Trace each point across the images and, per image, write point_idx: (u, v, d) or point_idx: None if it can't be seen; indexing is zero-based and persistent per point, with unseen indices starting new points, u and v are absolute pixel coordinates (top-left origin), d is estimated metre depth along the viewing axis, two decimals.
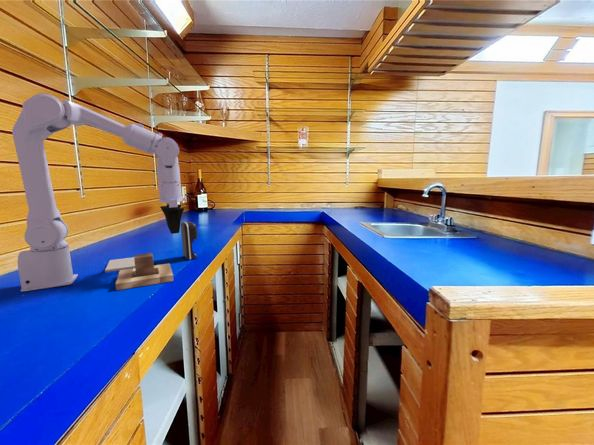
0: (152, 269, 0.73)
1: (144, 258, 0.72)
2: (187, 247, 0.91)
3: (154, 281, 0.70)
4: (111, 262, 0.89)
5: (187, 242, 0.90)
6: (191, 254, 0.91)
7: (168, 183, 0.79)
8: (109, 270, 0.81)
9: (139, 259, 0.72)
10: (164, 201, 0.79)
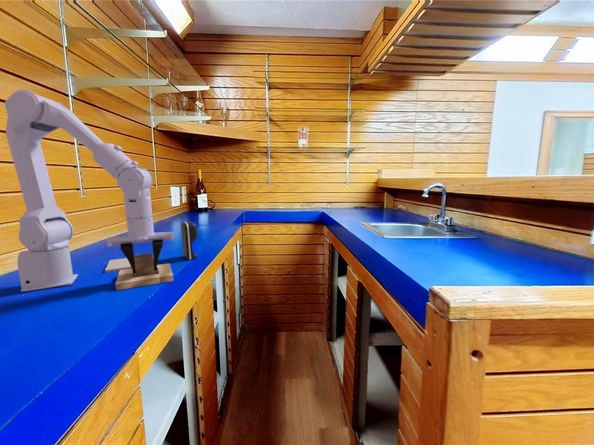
0: (152, 269, 0.73)
1: (144, 258, 0.72)
2: (187, 247, 0.91)
3: (154, 281, 0.70)
4: (111, 262, 0.89)
5: (187, 242, 0.90)
6: (191, 254, 0.91)
7: None
8: (109, 270, 0.81)
9: (139, 259, 0.72)
10: None
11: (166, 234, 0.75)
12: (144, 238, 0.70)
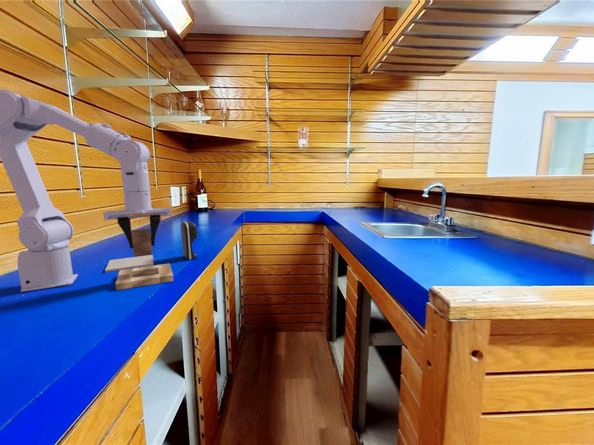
0: (149, 244, 0.72)
1: (141, 232, 0.71)
2: (187, 247, 0.91)
3: (154, 281, 0.70)
4: (111, 262, 0.89)
5: (187, 242, 0.90)
6: (191, 254, 0.91)
7: None
8: (109, 270, 0.81)
9: (136, 233, 0.71)
10: None
11: (164, 209, 0.74)
12: (141, 212, 0.69)
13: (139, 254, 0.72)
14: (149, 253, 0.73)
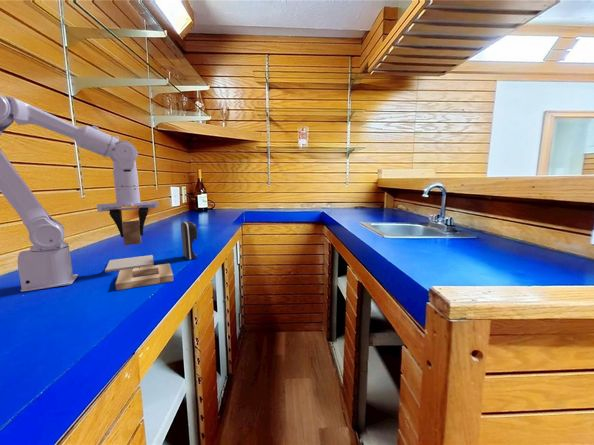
0: (138, 234, 0.81)
1: (131, 223, 0.80)
2: (187, 247, 0.91)
3: (154, 281, 0.70)
4: (111, 262, 0.89)
5: (187, 242, 0.90)
6: (191, 254, 0.91)
7: None
8: (109, 270, 0.81)
9: (126, 224, 0.80)
10: None
11: (151, 202, 0.83)
12: (130, 204, 0.78)
13: (128, 242, 0.80)
14: (138, 242, 0.81)
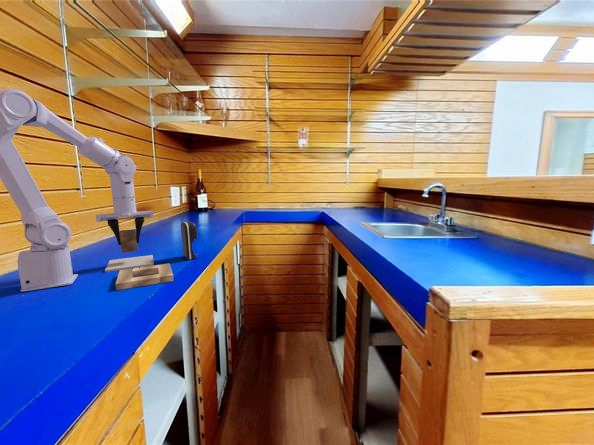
0: (135, 242, 0.87)
1: (128, 232, 0.86)
2: (187, 247, 0.91)
3: (154, 281, 0.70)
4: (111, 262, 0.89)
5: (187, 242, 0.90)
6: (191, 254, 0.91)
7: None
8: (109, 270, 0.81)
9: (123, 233, 0.85)
10: None
11: (147, 212, 0.88)
12: (128, 214, 0.84)
13: (126, 250, 0.86)
14: (135, 249, 0.87)
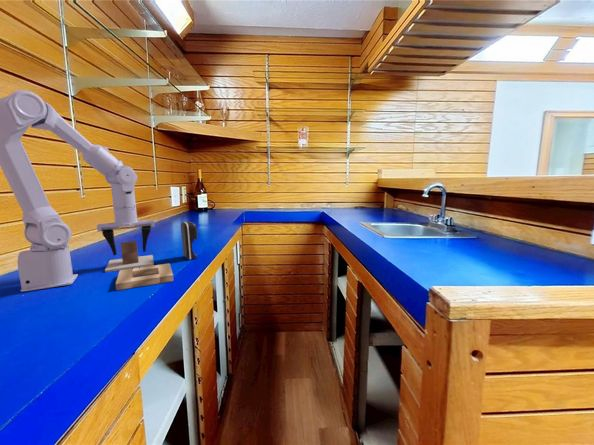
0: (136, 254, 0.87)
1: (129, 244, 0.86)
2: (187, 247, 0.91)
3: (154, 281, 0.70)
4: (111, 262, 0.89)
5: (187, 242, 0.90)
6: (191, 254, 0.91)
7: None
8: (109, 270, 0.81)
9: (125, 245, 0.86)
10: None
11: (148, 221, 0.89)
12: (129, 224, 0.84)
13: (127, 262, 0.86)
14: (136, 261, 0.87)
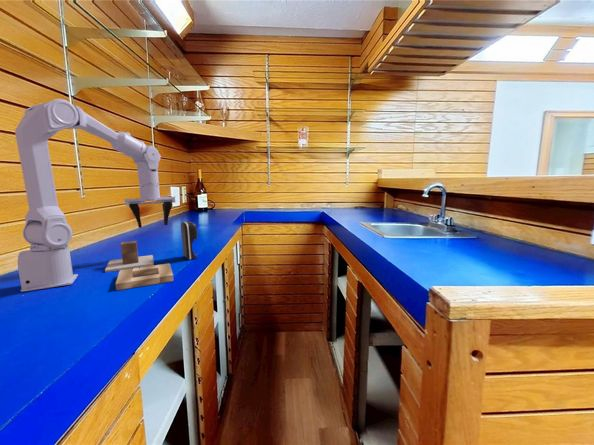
0: (136, 254, 0.87)
1: (129, 244, 0.86)
2: (187, 247, 0.91)
3: (154, 281, 0.70)
4: (111, 262, 0.89)
5: (187, 242, 0.90)
6: (191, 254, 0.91)
7: (139, 185, 0.94)
8: (109, 270, 0.81)
9: (125, 245, 0.86)
10: None
11: (169, 197, 0.98)
12: (154, 199, 0.93)
13: (127, 262, 0.86)
14: (136, 261, 0.87)
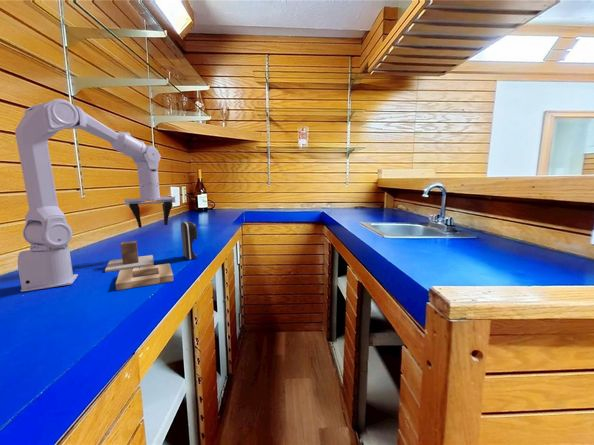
0: (136, 254, 0.87)
1: (129, 244, 0.86)
2: (187, 247, 0.91)
3: (154, 281, 0.70)
4: (111, 262, 0.89)
5: (187, 242, 0.90)
6: (191, 254, 0.91)
7: (139, 185, 0.94)
8: (109, 270, 0.81)
9: (125, 245, 0.86)
10: None
11: (169, 197, 0.98)
12: (154, 199, 0.93)
13: (127, 262, 0.86)
14: (136, 261, 0.87)
